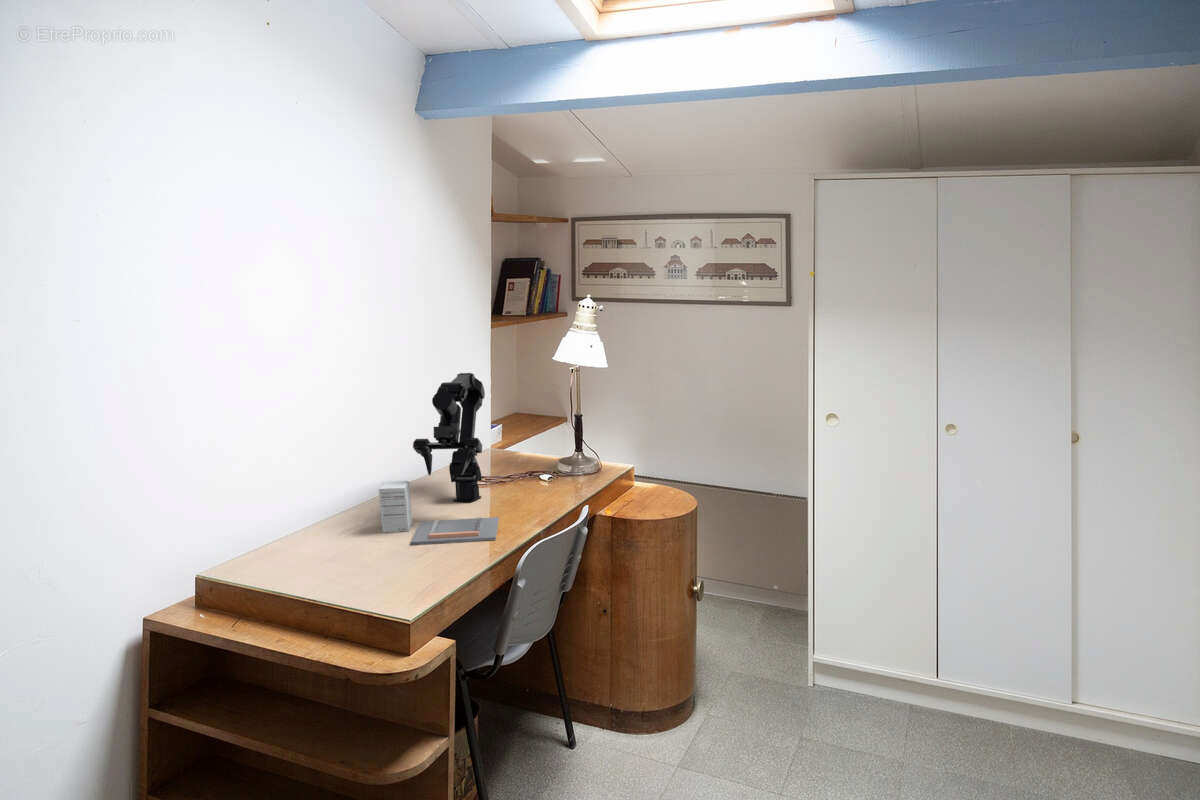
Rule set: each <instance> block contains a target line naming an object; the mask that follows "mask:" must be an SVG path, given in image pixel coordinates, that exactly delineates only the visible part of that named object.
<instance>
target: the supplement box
mask: <svg viewBox="0 0 1200 800" xmlns="http://www.w3.org/2000/svg"><path fill="white" fill-rule="evenodd" d="M410 493H411V492H410V481H409V480H402V481H385V482H382V483H381V485H380V487H379V488H378V495H379V498H378V499H379V509H380V521H381V532H382V533H385V532H388V533H402V532H401V531H406V532H409V531H410V529H411V527H412V525H413V520H412V519H413V518H412V505H411V504H412V503H411V494H410Z"/></svg>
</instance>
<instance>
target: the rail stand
mask: <svg viewBox="0 0 1200 800" xmlns="http://www.w3.org/2000/svg"><path fill="white" fill-rule="evenodd" d="M499 520H500V516H494V517H492V516H491V517H478V518H477V517H476V518H458V519H443V520H442V519H441V520H439V519H436V520H424V521H420V522H419V523H418V526H417V528H416V530H415V532H414V534H413V537H412V538H411V540H410V546H418V545H420V544H422V545H433V544H432V543H439V544H452V543H453V542H456V543H467V542H468V543H471V542H470V541H474V542H485V541H484V540H491V541H496V540H497V533H498V529H497V528H499V522H498V521H499ZM450 542H452V543H450Z"/></svg>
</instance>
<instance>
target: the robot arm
mask: <svg viewBox="0 0 1200 800" xmlns="http://www.w3.org/2000/svg"><path fill="white" fill-rule="evenodd" d="M485 393H486V392H485V387H484V385H483V382H482V380H481V381H480V380H479V379H478V378H476V377H475V374H474V373H472V372H460V373H459V374H458V373H457V375H456V377H455V378H454V379H453V380H451V381H449V382H441V383H440V386H439V387H437V390H436V392H435V394H434V395H433V397H432V398H431V399H432V400H431V403H432V406H433V407H434V408H435V410H436V411H437V413H438V415H440V418H439V422H438V426H433V438H434V439H435V441H437V442H431V441H430V440H429V438H416V439H414V440H413V442H412V448H413V450H414V451H415V452H416V453H417V454H418V455H420V456H421V457H423V459H424V460H423V461H424V462H425V463H424V464H425V466H426V467H425V468H426V471H427V475H428V476H431V475H432V469H433V468H432V467H433V454H432V452H433V450H454V451H452V456H451V462H450V463H449V476H450V482H451V483H455V498H453V500H452V501H453V502H459V501H460V502H461V503H468V502H470V503H473V502H474V500H475V501H477V500H479V499H481V498H482V495H480V487H479V484H478V483H479V481H482V480H483V477H482V471H481V468H480V466H479V463H478V460H477V458H476V456H478V454H482V453H483V443H482V442H481V441H480V439H479V438H478V437H475V434H476V433H475V432H476V431H475V430H476V423H477V422H476V420H477V412H478V411H479V409H480V408H481V407H482V406H483V401H484V400H483V399H485V396H486V395H485ZM458 403H459V404H460V405H459V404H458ZM472 501H473V502H472ZM460 502H459V503H460Z"/></svg>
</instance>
